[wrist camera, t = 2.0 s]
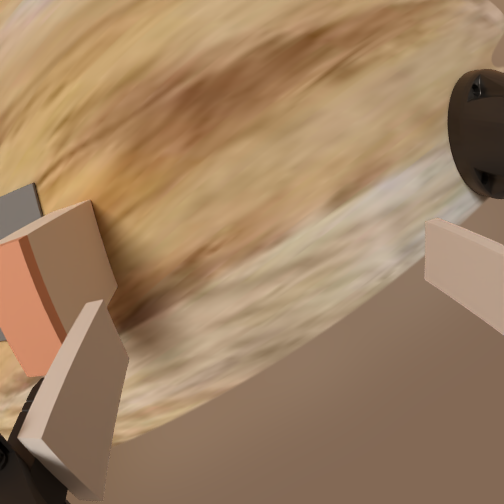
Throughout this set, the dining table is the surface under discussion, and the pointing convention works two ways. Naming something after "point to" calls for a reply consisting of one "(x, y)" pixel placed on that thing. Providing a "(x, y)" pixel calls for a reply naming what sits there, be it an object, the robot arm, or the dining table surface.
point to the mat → (18, 213)
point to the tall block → (51, 282)
